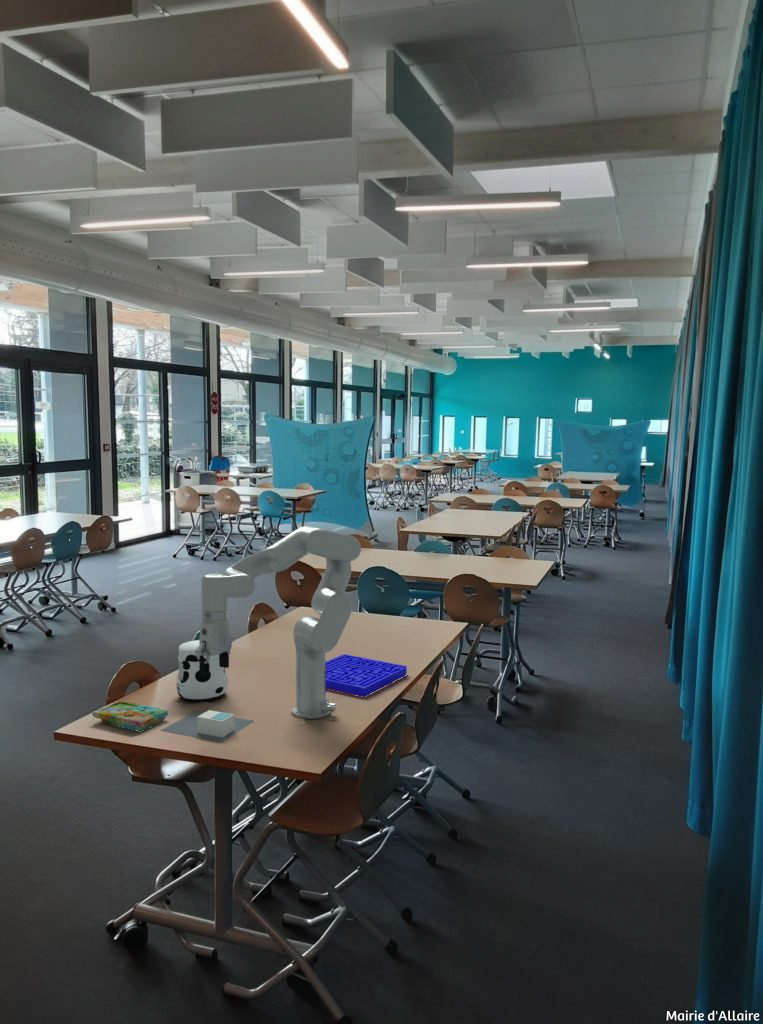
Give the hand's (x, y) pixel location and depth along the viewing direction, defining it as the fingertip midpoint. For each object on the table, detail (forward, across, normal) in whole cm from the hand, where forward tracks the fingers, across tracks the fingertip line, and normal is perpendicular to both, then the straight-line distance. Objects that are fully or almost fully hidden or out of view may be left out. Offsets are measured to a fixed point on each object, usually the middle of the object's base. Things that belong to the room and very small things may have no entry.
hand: (214, 671), depth 225 cm
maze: (+19, +64, -16) cm, 69 cm away
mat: (+19, +3, +4) cm, 20 cm away
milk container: (+19, +26, +24) cm, 40 cm away
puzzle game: (+20, -4, +29) cm, 36 cm away
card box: (+18, 0, -1) cm, 19 cm away
